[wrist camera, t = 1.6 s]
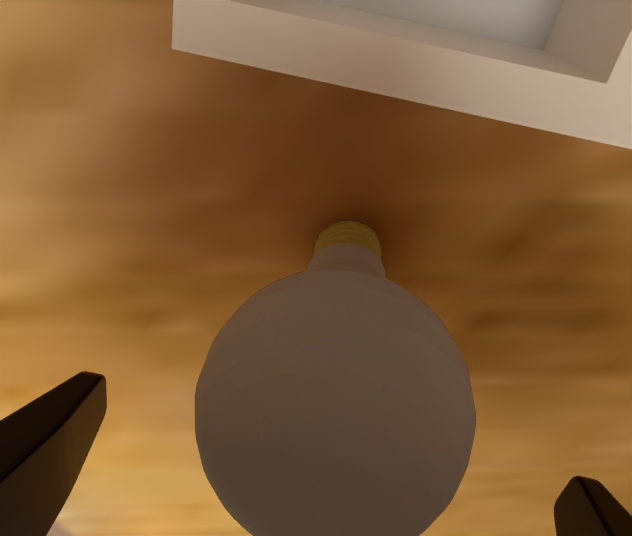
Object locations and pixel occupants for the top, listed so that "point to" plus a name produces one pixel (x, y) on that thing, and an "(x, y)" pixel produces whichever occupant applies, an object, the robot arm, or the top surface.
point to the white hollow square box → (440, 53)
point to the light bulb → (335, 402)
